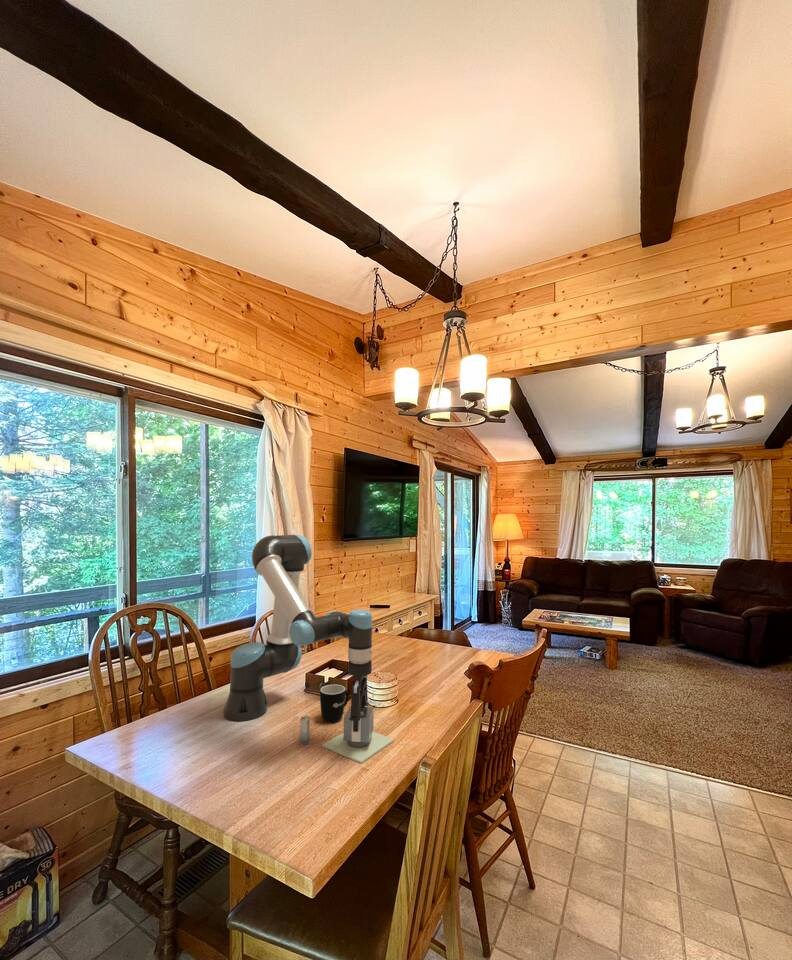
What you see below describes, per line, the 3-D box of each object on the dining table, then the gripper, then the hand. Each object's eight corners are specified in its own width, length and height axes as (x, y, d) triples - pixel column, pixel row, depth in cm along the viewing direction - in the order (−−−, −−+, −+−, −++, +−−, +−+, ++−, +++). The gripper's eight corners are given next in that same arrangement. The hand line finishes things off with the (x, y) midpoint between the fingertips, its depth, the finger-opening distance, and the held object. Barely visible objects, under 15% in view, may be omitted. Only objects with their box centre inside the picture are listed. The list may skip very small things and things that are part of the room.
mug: (331, 727, 148) (331, 696, 149) (314, 719, 154) (315, 689, 155) (356, 715, 158) (356, 686, 158) (339, 708, 163) (339, 680, 164)
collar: (343, 740, 134) (343, 716, 135) (349, 728, 142) (349, 705, 143) (368, 742, 133) (369, 718, 134) (373, 729, 141) (373, 707, 142)
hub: (322, 746, 136) (323, 715, 137) (356, 727, 149) (357, 698, 149) (361, 763, 126) (361, 730, 127) (394, 741, 139) (394, 710, 140)
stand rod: (297, 743, 137) (298, 718, 138) (305, 739, 140) (305, 715, 140) (304, 746, 136) (304, 721, 136) (311, 742, 138) (312, 718, 139)
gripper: (365, 672, 129) (364, 752, 127) (376, 651, 150) (376, 719, 148) (340, 670, 130) (339, 750, 128) (355, 650, 151) (354, 718, 148)
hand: (359, 734), depth 138 cm, fingers closed on collar, 8 cm apart
